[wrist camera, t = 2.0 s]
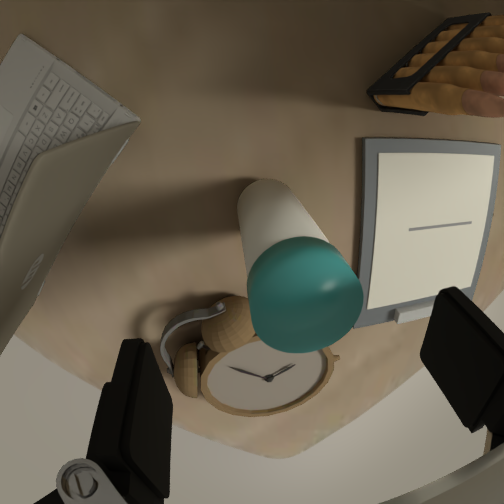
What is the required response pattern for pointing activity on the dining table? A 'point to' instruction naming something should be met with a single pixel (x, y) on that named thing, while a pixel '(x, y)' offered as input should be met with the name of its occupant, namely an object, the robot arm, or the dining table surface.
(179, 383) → the alarm clock
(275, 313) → the marker
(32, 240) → the laptop
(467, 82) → the ammunition clip
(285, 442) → the dining table surface
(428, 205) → the drawing board
